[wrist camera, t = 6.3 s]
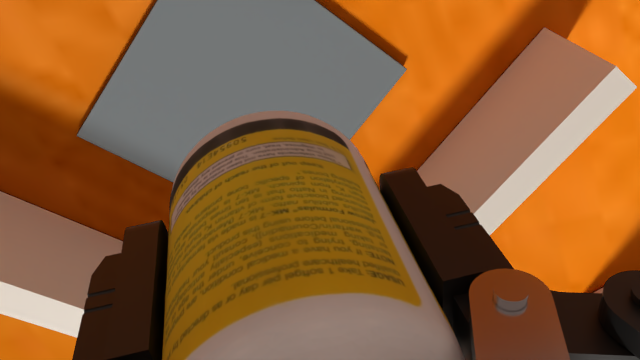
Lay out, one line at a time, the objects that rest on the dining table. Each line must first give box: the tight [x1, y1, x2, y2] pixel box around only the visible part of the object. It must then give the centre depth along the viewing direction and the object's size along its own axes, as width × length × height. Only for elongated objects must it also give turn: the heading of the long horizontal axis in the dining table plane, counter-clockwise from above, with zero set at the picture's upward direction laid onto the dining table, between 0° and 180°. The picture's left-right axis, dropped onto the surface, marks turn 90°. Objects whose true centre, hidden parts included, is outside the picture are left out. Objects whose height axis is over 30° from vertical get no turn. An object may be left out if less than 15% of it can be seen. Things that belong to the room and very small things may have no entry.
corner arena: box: [0, 27, 637, 337], centre depth 17 cm, size 17×17×4 cm
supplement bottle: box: [162, 111, 465, 360], centre depth 10 cm, size 5×5×8 cm
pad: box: [77, 0, 407, 183], centre depth 19 cm, size 8×8×1 cm
